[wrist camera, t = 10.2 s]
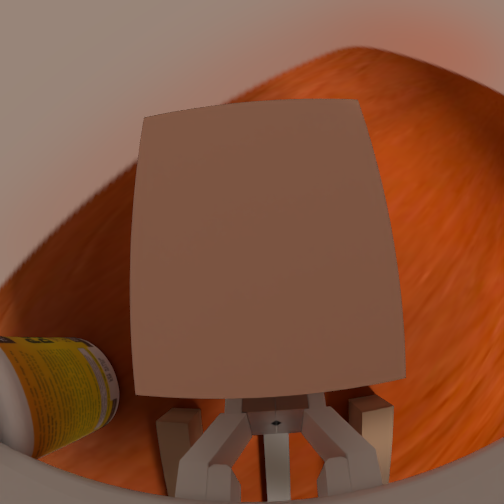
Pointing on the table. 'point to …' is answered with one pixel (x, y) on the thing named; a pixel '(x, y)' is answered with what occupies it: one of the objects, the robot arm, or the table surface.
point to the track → (275, 442)
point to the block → (262, 254)
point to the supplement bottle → (53, 392)
